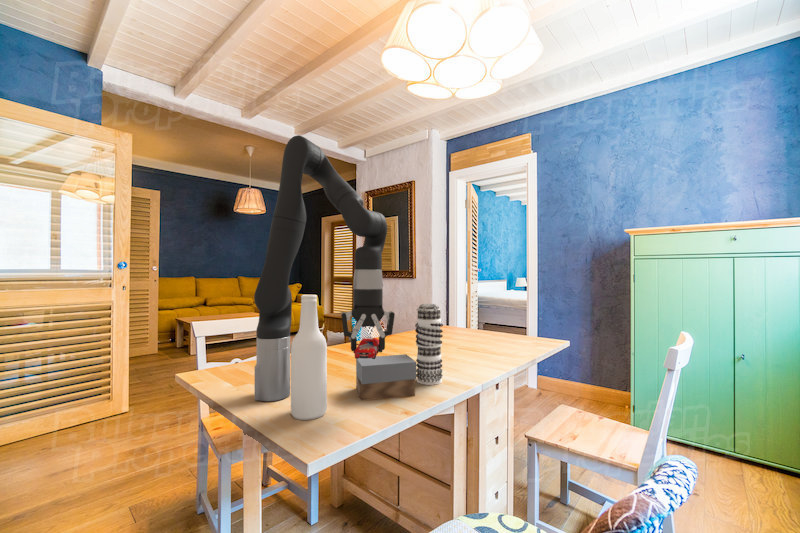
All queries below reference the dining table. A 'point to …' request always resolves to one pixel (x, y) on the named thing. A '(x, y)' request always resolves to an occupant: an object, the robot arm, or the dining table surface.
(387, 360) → the top block
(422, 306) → the decorative candle
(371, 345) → the race car
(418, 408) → the dining table surface
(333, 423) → the dining table surface
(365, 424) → the dining table surface
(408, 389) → the bottom block
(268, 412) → the dining table surface
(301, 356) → the white bottle
